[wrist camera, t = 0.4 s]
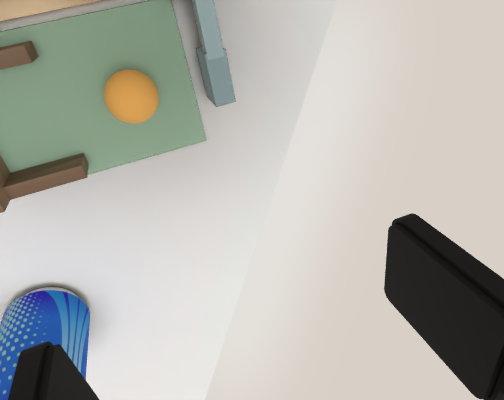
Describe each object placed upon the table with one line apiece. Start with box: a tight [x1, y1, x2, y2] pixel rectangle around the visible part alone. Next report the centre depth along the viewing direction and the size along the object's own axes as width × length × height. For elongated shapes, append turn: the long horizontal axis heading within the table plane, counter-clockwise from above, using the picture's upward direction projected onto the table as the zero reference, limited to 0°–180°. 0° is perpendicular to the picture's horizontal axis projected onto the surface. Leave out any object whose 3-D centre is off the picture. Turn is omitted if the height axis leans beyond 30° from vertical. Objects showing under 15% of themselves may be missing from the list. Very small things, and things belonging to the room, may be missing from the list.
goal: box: [0, 41, 89, 213], centre depth 29 cm, size 11×8×5 cm
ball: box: [104, 69, 159, 124], centre depth 31 cm, size 4×4×4 cm
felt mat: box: [0, 0, 206, 174], centre depth 32 cm, size 13×20×1 cm, turn 100°
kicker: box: [191, 0, 236, 107], centre depth 27 cm, size 14×5×10 cm, turn 10°
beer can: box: [0, 287, 90, 400], centre depth 34 cm, size 8×8×16 cm
